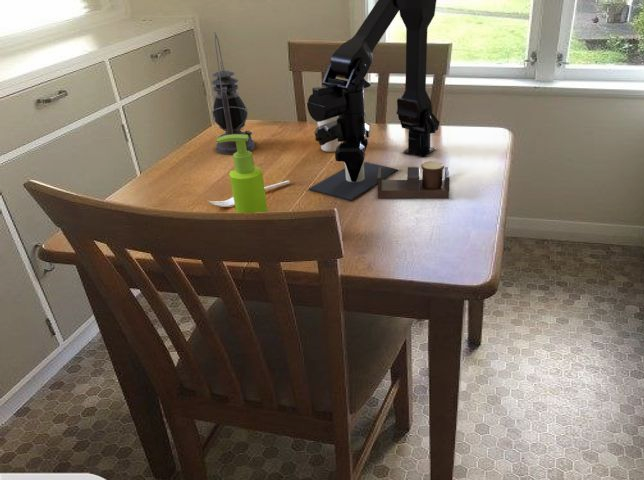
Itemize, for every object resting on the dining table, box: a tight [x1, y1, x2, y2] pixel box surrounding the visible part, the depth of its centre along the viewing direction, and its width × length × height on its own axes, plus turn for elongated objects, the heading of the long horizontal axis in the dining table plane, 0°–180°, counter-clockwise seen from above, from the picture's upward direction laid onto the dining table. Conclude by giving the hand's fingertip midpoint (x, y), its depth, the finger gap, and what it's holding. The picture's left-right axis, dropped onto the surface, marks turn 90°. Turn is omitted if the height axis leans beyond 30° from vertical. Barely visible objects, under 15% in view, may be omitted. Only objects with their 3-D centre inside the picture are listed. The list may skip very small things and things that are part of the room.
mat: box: [308, 161, 399, 202], centre depth 127 cm, size 20×12×1 cm, turn 147°
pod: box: [420, 160, 445, 189], centre depth 117 cm, size 5×5×5 cm
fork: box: [208, 180, 291, 208], centre depth 120 cm, size 3×20×2 cm, turn 131°
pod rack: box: [376, 166, 451, 200], centre depth 119 cm, size 6×16×5 cm, turn 87°
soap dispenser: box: [216, 134, 269, 213], centre depth 100 cm, size 6×7×20 cm
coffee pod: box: [343, 159, 366, 182], centre depth 125 cm, size 5×5×5 cm
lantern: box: [210, 32, 256, 156], centre depth 140 cm, size 12×11×30 cm
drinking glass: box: [316, 116, 341, 153], centre depth 141 cm, size 7×7×15 cm
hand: (355, 176), depth 126 cm, fingers open, 6 cm apart
